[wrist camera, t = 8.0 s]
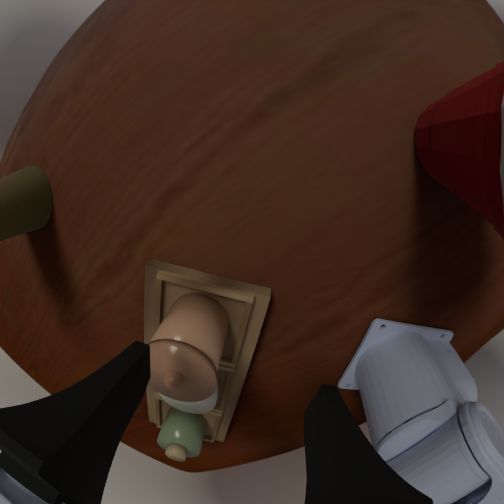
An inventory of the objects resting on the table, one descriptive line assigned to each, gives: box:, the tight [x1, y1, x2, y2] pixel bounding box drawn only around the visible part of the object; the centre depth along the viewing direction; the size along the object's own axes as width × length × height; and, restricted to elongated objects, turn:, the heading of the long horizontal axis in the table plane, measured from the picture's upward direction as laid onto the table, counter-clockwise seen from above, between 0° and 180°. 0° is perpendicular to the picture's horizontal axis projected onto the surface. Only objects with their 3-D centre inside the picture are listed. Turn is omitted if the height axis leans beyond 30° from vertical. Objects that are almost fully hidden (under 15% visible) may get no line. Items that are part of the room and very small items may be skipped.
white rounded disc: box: [158, 379, 220, 414], centre depth 22 cm, size 5×5×2 cm
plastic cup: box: [414, 61, 504, 239], centre depth 9 cm, size 11×11×12 cm
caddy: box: [144, 259, 271, 443], centre depth 23 cm, size 9×21×2 cm, turn 167°
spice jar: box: [148, 293, 230, 402], centre depth 17 cm, size 5×5×7 cm
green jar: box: [157, 407, 207, 461], centre depth 23 cm, size 4×4×5 cm
